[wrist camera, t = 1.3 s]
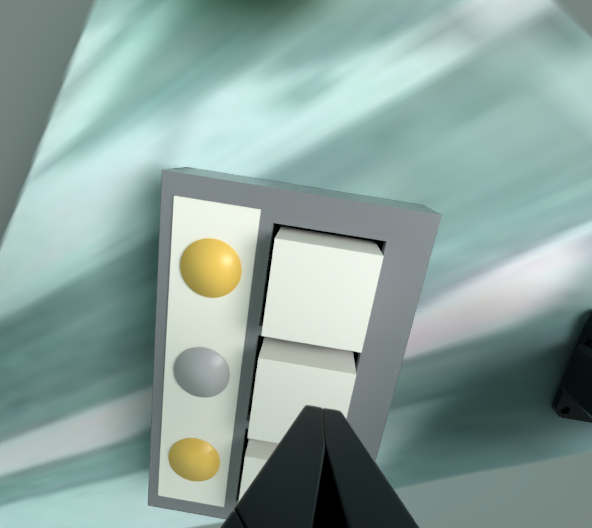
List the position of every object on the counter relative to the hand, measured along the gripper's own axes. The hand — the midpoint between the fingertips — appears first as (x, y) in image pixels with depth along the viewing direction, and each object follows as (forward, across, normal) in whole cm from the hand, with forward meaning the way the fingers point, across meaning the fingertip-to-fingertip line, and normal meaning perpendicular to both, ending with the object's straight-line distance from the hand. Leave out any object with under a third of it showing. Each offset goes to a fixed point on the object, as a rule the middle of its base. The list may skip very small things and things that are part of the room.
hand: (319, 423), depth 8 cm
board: (+12, +2, +6) cm, 13 cm away
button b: (+10, 0, +6) cm, 11 cm away
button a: (+10, 0, 0) cm, 10 cm away
